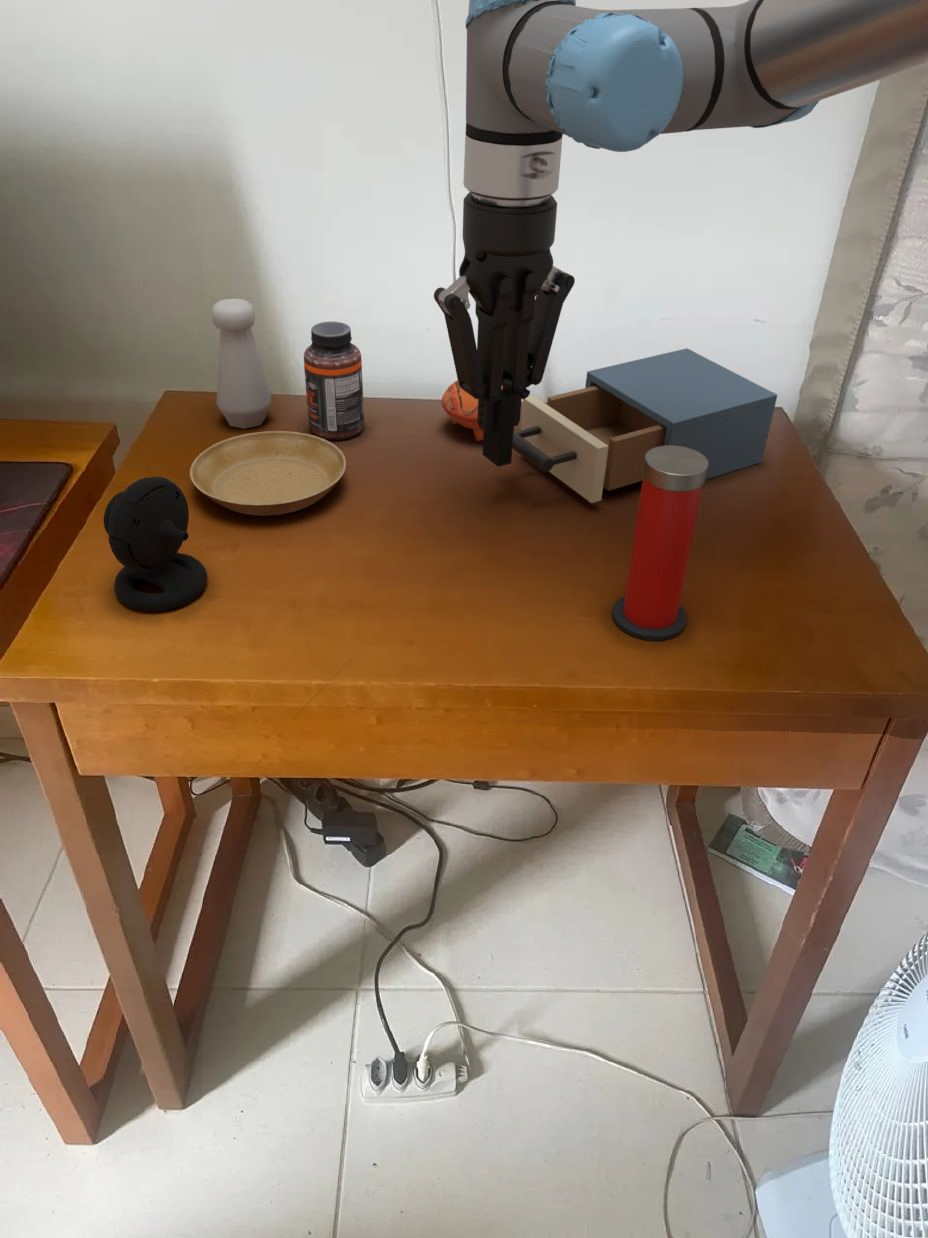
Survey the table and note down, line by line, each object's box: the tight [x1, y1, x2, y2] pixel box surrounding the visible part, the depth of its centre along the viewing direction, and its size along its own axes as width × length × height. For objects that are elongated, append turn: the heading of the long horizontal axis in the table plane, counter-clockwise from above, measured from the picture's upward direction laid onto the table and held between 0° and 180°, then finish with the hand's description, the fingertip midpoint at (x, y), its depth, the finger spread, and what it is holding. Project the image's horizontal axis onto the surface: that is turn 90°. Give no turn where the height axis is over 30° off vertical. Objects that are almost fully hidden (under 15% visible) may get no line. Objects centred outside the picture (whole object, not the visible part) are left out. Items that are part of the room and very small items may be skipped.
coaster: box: [611, 595, 688, 642], centre depth 80 cm, size 6×6×1 cm
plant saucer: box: [189, 430, 347, 517], centre depth 95 cm, size 15×15×3 cm
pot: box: [441, 379, 503, 442], centre depth 105 cm, size 8×8×7 cm
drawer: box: [512, 385, 667, 504], centre depth 97 cm, size 17×12×6 cm
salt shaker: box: [211, 298, 272, 430], centre depth 103 cm, size 6×6×13 cm
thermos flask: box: [623, 445, 708, 629], centre depth 76 cm, size 5×5×14 cm
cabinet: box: [584, 347, 778, 480], centre depth 102 cm, size 14×14×8 cm
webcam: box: [103, 475, 208, 612], centre depth 79 cm, size 8×8×10 cm
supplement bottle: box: [303, 320, 365, 441], centre depth 103 cm, size 6×6×11 cm
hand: (496, 458), depth 92 cm, fingers closed
